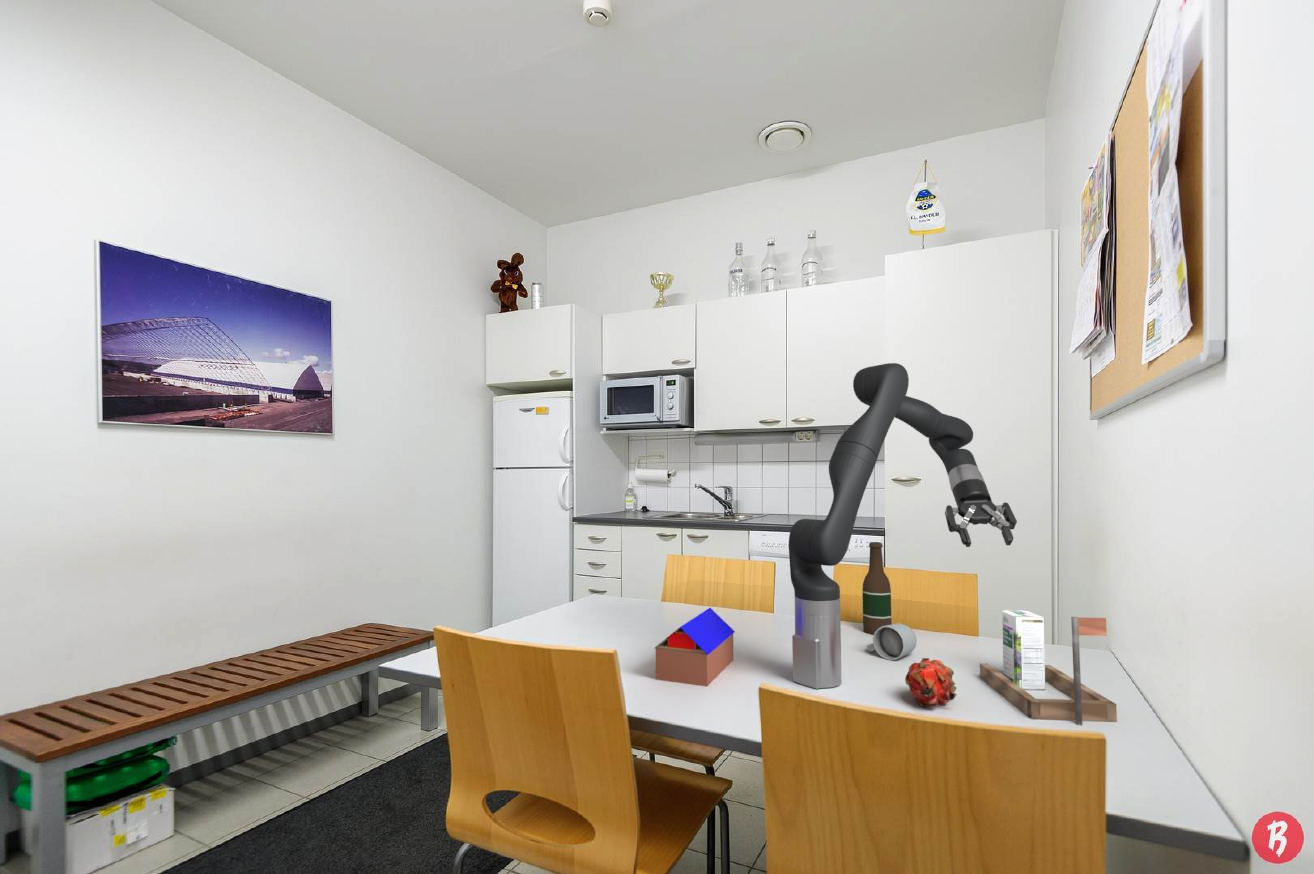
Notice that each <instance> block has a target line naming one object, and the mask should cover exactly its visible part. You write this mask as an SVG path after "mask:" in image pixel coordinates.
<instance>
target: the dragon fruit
mask: <svg viewBox="0 0 1314 874" xmlns="http://www.w3.org/2000/svg"><path fill="white" fill-rule="evenodd" d="M953 675H954V670H952V668H951V667H949V666H946V665H945V664H944V662H943V661H941V660H940V659H932V660H930V658H929V657H923V658H921V660H920V662H913V663H911V664H910V666H909V667H908V671H907V674H906V676H905V677H904V679H905V681H904V682H905V684H906V685H907V686H908V687H909V690H910V693H911V695H912V696H914V698H915V701H917V704H918V705H919V706H921V707H924V708H925V706H926V707H929V706H930V705H933V706H937V705H938V704H939V705H941V706H944V705H947V703H948V702H950V701H953V700H955V698H956V697H957V693H956V691H957V686H955V684H956V682H955V681H954V680H953Z"/></svg>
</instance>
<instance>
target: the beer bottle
mask: <svg viewBox="0 0 1314 874" xmlns="http://www.w3.org/2000/svg"><path fill="white" fill-rule="evenodd" d="M868 547H869V563H868V566H869V567H868V572H867V573H866V575H865V577H864V580H863V582H862V626H863V629H862V630H863V633H865V634H868V635H871V636H874V634H875V631H876V630H877V629H878V628H880V627H882V626H886V625H892V624H893V622H892V620H893V619H892V618H893V617H892V589H891V582H890V580H889V577H888V576H887V575H886V573H885V570H884V561H883V550H882V548H883V543H882V542H878V541H871V542H869V544H868Z"/></svg>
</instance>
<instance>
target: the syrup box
mask: <svg viewBox="0 0 1314 874" xmlns="http://www.w3.org/2000/svg"><path fill="white" fill-rule="evenodd" d="M1001 612H1002V613H1001V616H1002V622H1001V623H1002V664H1003V665H1002V667H1003V668H1002V669H1003V671H1002V673H1003V674H1002V675H1004V676H1005V677H1007V678H1008V679H1009V680H1011V681H1012V682H1013V683H1015V684H1016V685H1018V686H1019V687H1020V688H1022V689H1023V690H1025V691H1026V690H1031V691H1032V690H1033V691H1034V690H1036V691H1037V690H1046V681H1045V665H1046V663H1045V661H1046V659H1045V658H1046V657H1045V655H1046V654H1045V626H1044V625H1045V624H1044V623H1045V621H1044V616H1041V615H1037V614H1035V613H1033V612H1031V611H1028V610H1022V609H1006V610H1002V611H1001Z"/></svg>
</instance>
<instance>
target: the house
mask: <svg viewBox="0 0 1314 874" xmlns="http://www.w3.org/2000/svg"><path fill="white" fill-rule="evenodd" d="M735 632H736V631H735V630H734V628H732V627H731V626H730V625H729V624H728V623H727V622H726V621H725V620H723V618H721V616H720V615H719V614H717V613H716V612H715V610H713V609H712V607H709V608H707V609H706V610H704V611H703V612H701V613H699V614H698V615H696V616H695V617H693V618H692V619H690V620H689V621H687V622H686V623H684V624H683V625H681V626H680V627H678V628H677V629H675V630H674V631H673V632H672V633H671V634H670V635H668V636H667V637H666V638H665V639H664V640H662V641H661V642H659V644H657V645H656V646H655V647H654V649H655V680H656V681H663V682H671V683H679V684H686V685H692V686H699V687H700V686H701V687H708V686H710V685H711V683H712V682H713V681H714V680H715V679H717V677H718V676H720V674H721V673H722V672H723V671H724V670H725V669H727V667H729V665H730V664H731V663H732V662H733V661H734V634H735Z"/></svg>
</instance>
